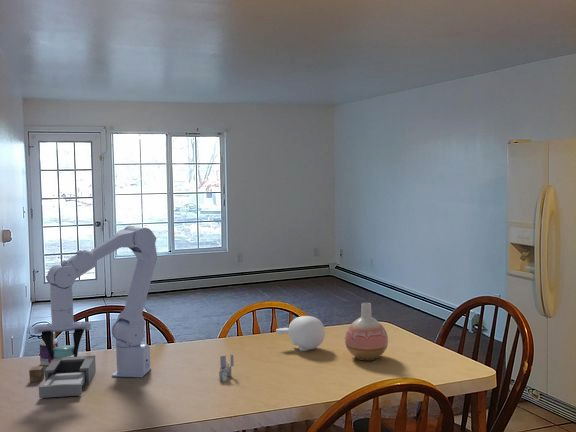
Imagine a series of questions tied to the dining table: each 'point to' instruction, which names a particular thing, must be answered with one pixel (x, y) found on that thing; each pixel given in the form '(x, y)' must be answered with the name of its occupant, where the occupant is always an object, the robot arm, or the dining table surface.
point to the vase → (366, 336)
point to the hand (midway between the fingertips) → (64, 356)
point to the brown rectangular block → (36, 374)
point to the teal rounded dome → (63, 351)
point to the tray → (63, 385)
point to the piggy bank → (305, 332)
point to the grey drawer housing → (72, 366)
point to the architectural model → (225, 368)
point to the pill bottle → (46, 351)
